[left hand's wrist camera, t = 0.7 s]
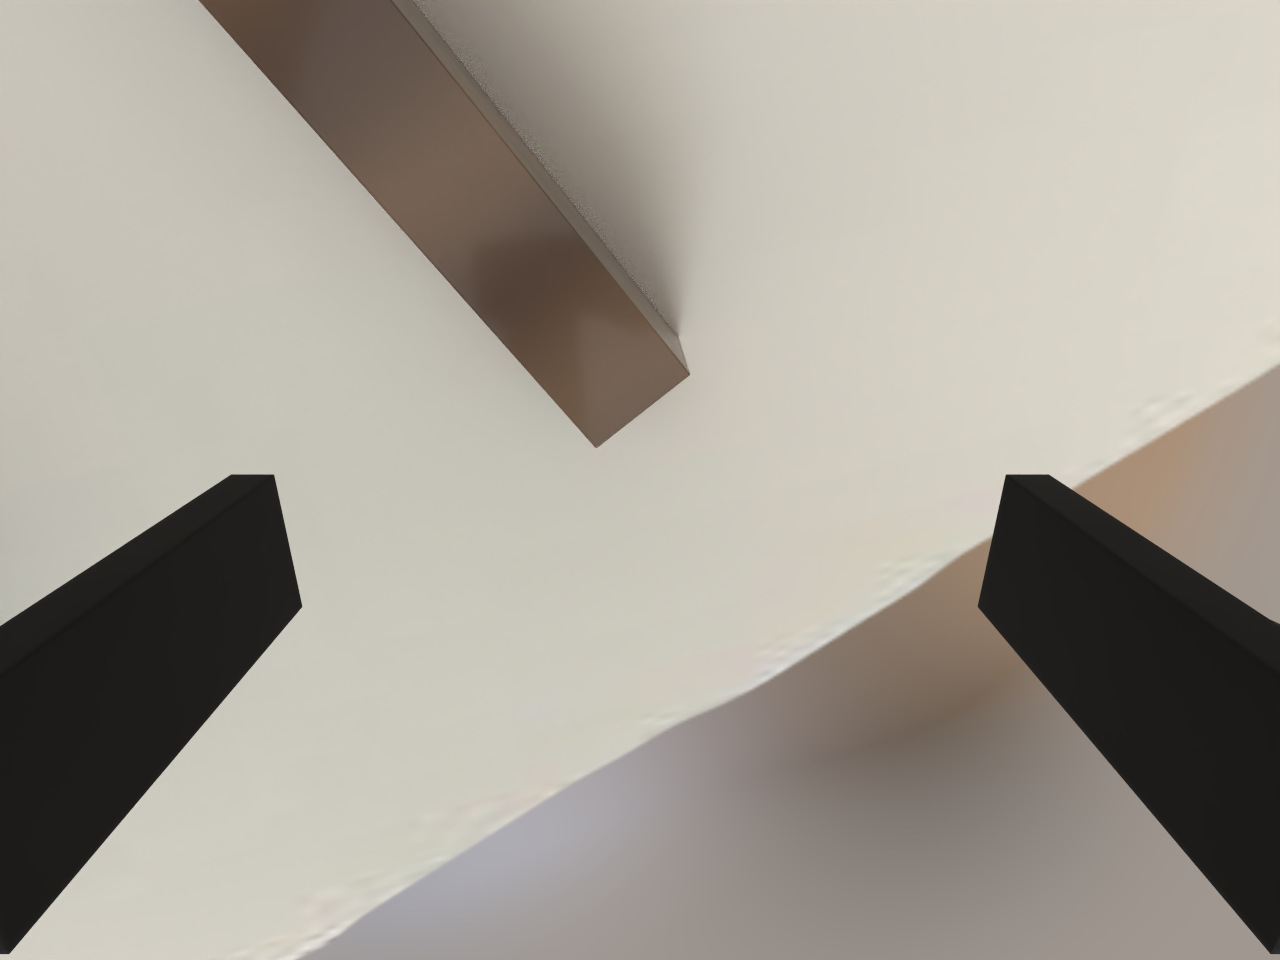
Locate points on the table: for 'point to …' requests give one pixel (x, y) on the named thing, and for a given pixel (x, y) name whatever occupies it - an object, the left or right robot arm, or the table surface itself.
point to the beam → (467, 196)
